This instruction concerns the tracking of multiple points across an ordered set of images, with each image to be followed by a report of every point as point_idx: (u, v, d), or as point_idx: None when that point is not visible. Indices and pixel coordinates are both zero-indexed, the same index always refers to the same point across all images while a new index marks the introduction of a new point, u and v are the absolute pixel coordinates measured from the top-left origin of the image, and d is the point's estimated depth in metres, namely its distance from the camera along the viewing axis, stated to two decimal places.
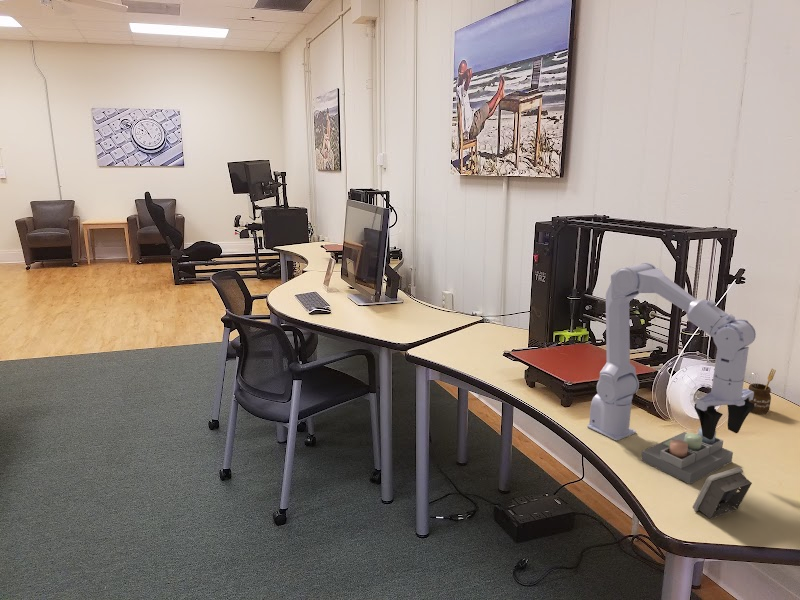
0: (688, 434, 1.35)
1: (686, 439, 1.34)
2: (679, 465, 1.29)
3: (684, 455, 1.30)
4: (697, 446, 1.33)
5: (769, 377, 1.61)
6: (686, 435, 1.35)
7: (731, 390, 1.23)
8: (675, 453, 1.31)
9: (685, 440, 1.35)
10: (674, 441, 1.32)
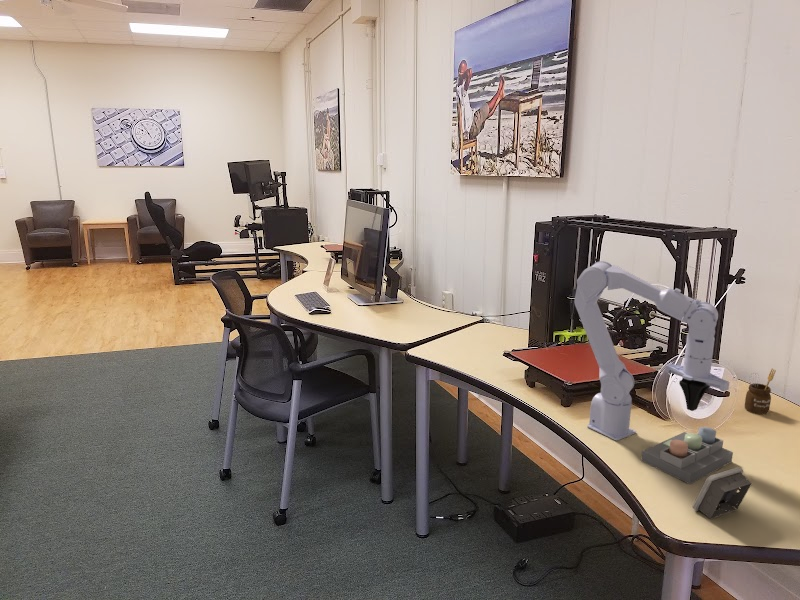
0: (688, 434, 1.35)
1: (686, 439, 1.34)
2: (679, 465, 1.29)
3: (684, 455, 1.30)
4: (697, 446, 1.33)
5: (769, 377, 1.61)
6: (686, 435, 1.35)
7: (685, 363, 1.37)
8: (675, 453, 1.31)
9: (685, 440, 1.35)
10: (674, 441, 1.32)
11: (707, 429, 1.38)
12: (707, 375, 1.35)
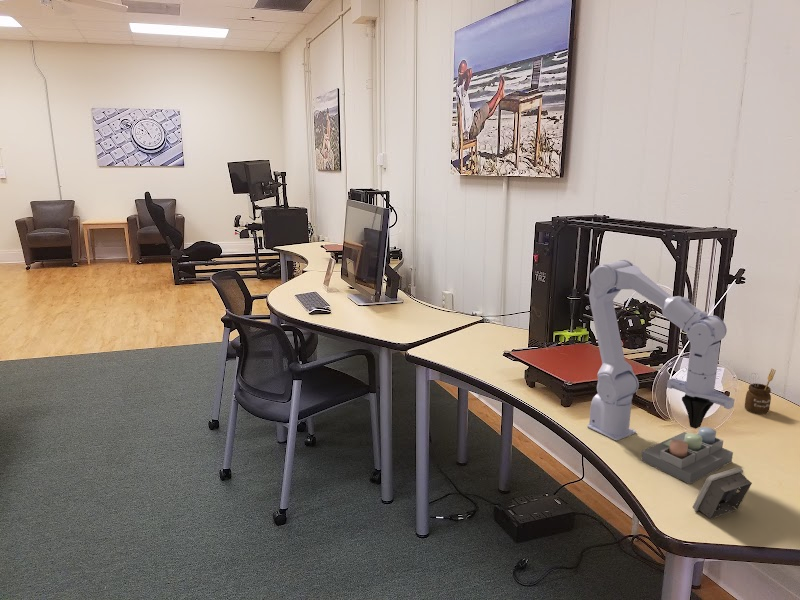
0: (688, 434, 1.35)
1: (686, 439, 1.34)
2: (679, 465, 1.29)
3: (684, 455, 1.30)
4: (697, 446, 1.33)
5: (769, 377, 1.61)
6: (686, 435, 1.35)
7: (687, 378, 1.31)
8: (675, 453, 1.31)
9: (685, 440, 1.35)
10: (674, 441, 1.32)
11: (707, 429, 1.38)
12: (711, 391, 1.29)
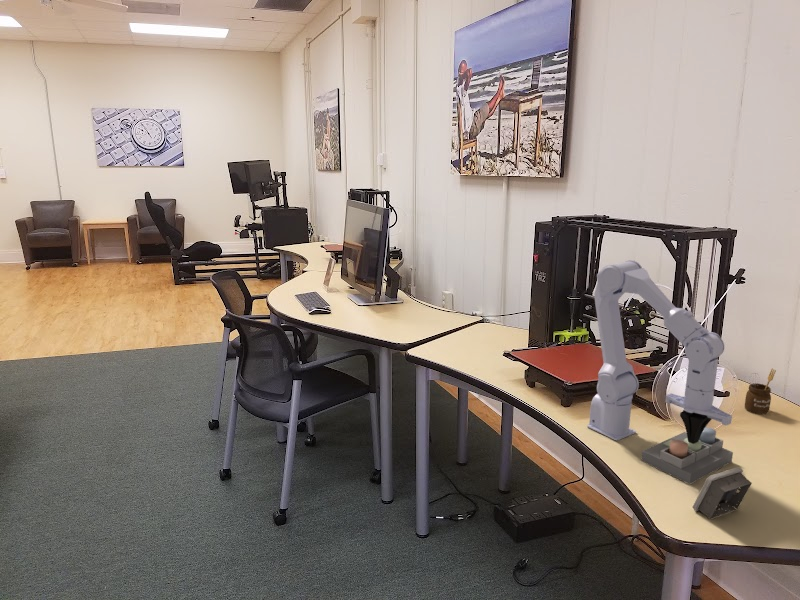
0: (687, 439, 1.36)
1: None
2: (679, 465, 1.29)
3: (684, 455, 1.30)
4: (697, 450, 1.33)
5: (769, 377, 1.61)
6: (685, 440, 1.35)
7: (685, 394, 1.32)
8: (675, 453, 1.31)
9: None
10: (674, 441, 1.32)
11: (707, 429, 1.38)
12: (709, 408, 1.30)
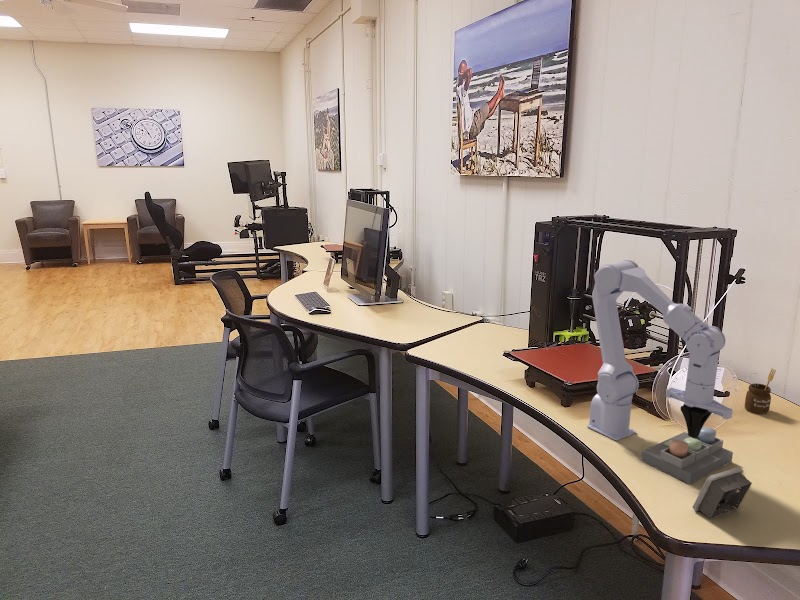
0: (687, 439, 1.36)
1: None
2: (679, 465, 1.29)
3: (684, 455, 1.30)
4: (697, 450, 1.33)
5: (769, 377, 1.61)
6: (685, 440, 1.35)
7: (686, 388, 1.32)
8: (675, 453, 1.31)
9: None
10: (674, 441, 1.32)
11: (707, 429, 1.38)
12: (709, 402, 1.29)
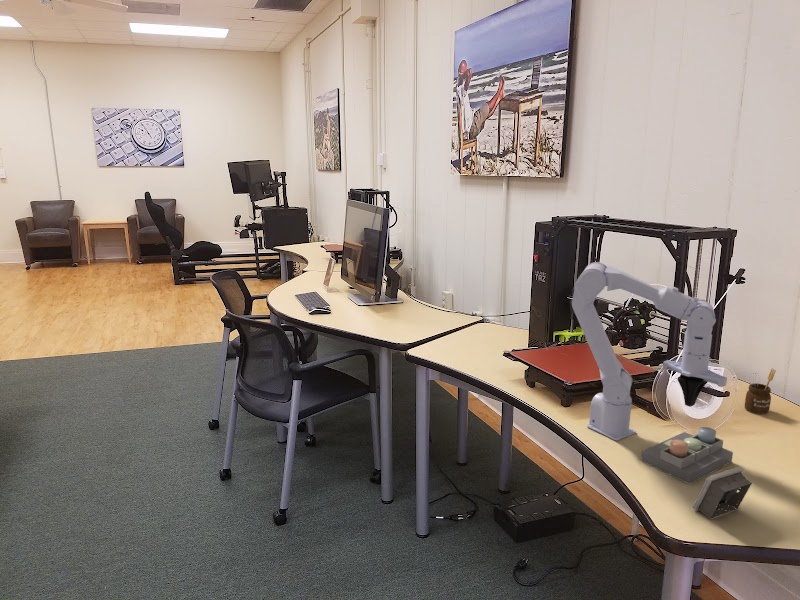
0: (687, 439, 1.36)
1: None
2: (679, 465, 1.29)
3: (684, 455, 1.30)
4: (697, 450, 1.33)
5: (769, 377, 1.61)
6: (685, 440, 1.35)
7: (683, 360, 1.39)
8: (675, 453, 1.31)
9: None
10: (674, 441, 1.32)
11: (707, 429, 1.38)
12: (705, 371, 1.37)
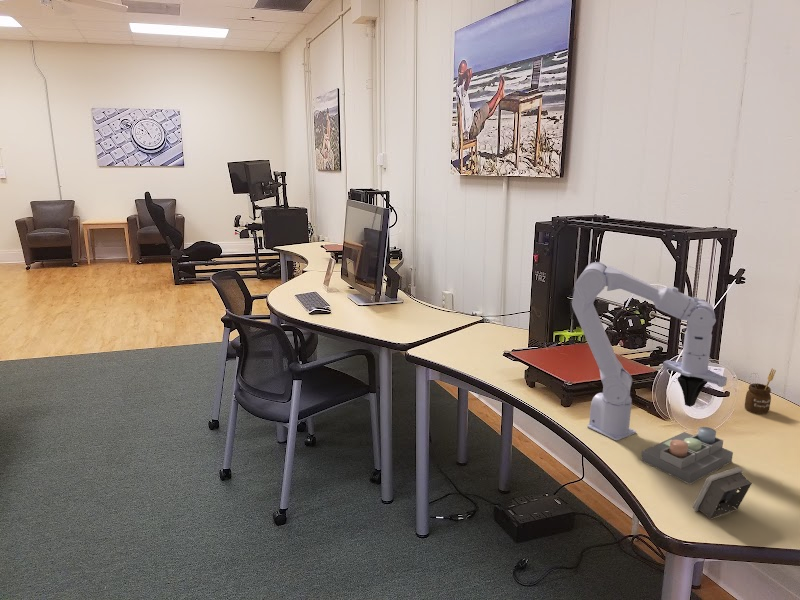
0: (687, 439, 1.36)
1: None
2: (679, 465, 1.29)
3: (684, 455, 1.30)
4: (697, 450, 1.33)
5: (769, 377, 1.61)
6: (685, 440, 1.35)
7: (683, 360, 1.39)
8: (675, 453, 1.31)
9: None
10: (674, 441, 1.32)
11: (707, 429, 1.38)
12: (705, 371, 1.37)
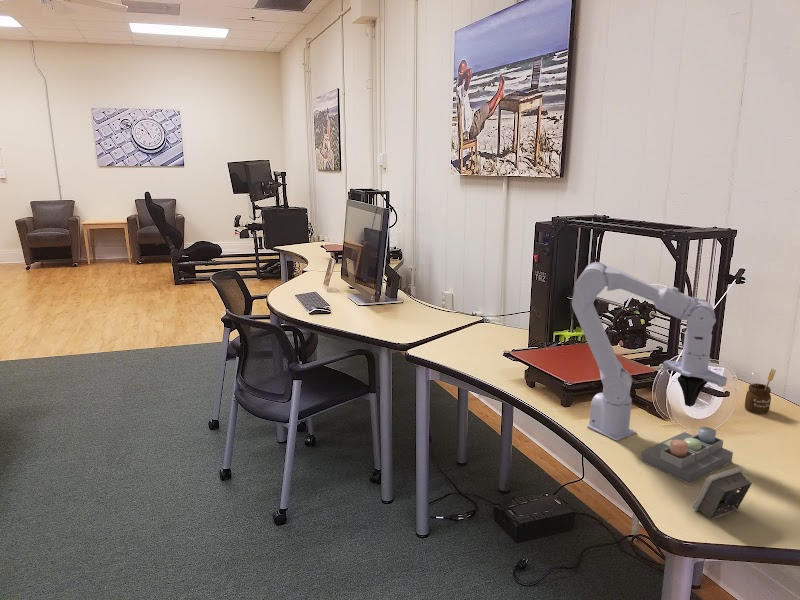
0: (687, 439, 1.36)
1: None
2: (679, 465, 1.29)
3: (684, 455, 1.30)
4: (697, 450, 1.33)
5: (769, 377, 1.61)
6: (685, 440, 1.35)
7: (683, 360, 1.39)
8: (675, 453, 1.31)
9: None
10: (674, 441, 1.32)
11: (707, 429, 1.38)
12: (705, 371, 1.37)
